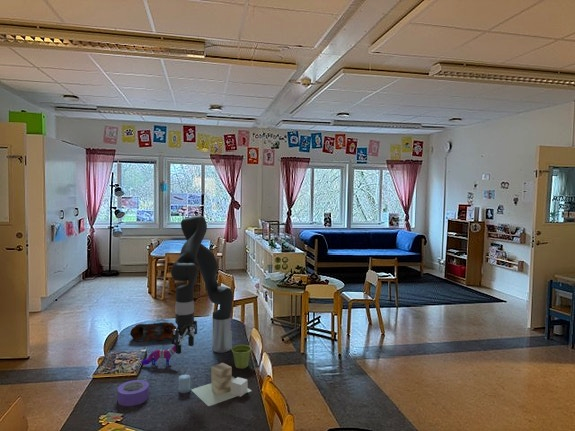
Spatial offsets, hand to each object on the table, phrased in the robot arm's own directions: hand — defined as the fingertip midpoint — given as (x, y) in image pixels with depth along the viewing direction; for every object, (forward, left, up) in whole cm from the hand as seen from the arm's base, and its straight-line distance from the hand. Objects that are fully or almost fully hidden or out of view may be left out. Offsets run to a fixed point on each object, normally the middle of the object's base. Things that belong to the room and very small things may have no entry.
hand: (184, 349), depth 169 cm
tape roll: (+19, -7, -18) cm, 27 cm away
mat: (-12, +9, -18) cm, 23 cm away
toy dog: (-1, -29, -18) cm, 34 cm away
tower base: (-12, +9, -17) cm, 23 cm away
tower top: (-12, +9, -12) cm, 20 cm away
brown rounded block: (-12, -68, -18) cm, 72 cm away
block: (-17, +15, -17) cm, 29 cm away
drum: (0, 0, -18) cm, 18 cm away
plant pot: (-31, -6, -18) cm, 36 cm away
